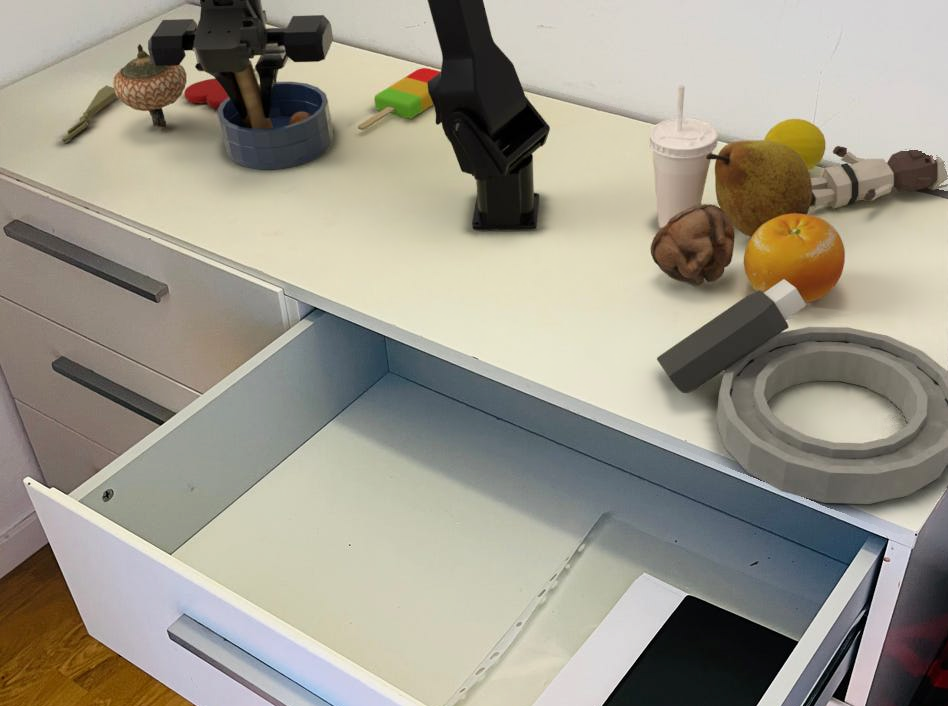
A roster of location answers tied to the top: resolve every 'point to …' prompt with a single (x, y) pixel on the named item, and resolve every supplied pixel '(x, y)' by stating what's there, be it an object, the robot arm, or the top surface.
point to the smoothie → (680, 161)
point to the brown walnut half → (695, 245)
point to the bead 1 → (246, 122)
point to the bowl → (280, 129)
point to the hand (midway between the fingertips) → (256, 116)
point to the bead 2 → (299, 117)
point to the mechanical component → (826, 463)
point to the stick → (252, 97)
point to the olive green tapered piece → (92, 110)
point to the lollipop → (206, 93)
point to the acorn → (149, 86)
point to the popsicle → (404, 97)
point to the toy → (876, 177)
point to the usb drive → (730, 336)
